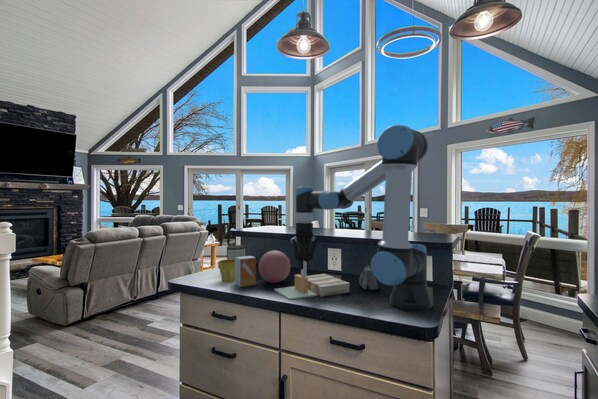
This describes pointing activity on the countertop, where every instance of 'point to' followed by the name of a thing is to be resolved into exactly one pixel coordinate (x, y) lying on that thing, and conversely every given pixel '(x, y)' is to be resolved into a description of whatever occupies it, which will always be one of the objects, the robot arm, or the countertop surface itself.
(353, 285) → the countertop surface
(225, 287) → the countertop surface
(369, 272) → the mineral rock
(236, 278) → the small box
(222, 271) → the plant pot
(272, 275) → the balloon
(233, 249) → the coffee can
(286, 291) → the mat
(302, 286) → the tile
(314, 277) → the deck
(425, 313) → the countertop surface
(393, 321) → the countertop surface
